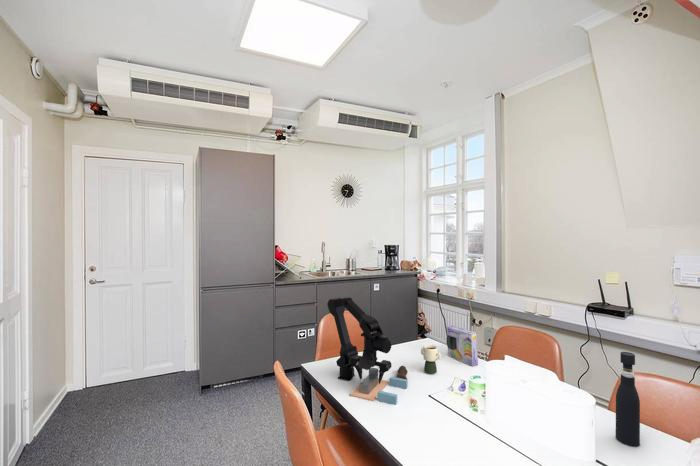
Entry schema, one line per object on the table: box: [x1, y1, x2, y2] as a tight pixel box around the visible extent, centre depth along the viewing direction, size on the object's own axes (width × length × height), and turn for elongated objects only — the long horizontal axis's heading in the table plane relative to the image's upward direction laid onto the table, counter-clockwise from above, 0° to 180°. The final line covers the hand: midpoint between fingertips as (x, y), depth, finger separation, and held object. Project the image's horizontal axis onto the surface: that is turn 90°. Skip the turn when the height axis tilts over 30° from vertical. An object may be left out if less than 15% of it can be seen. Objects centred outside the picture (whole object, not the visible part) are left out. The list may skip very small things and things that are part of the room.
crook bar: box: [359, 367, 379, 395], centre depth 152 cm, size 4×12×7 cm, turn 154°
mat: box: [349, 378, 390, 402], centre depth 152 cm, size 11×20×1 cm, turn 154°
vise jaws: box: [377, 376, 409, 406], centre depth 147 cm, size 8×18×4 cm, turn 154°
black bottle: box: [615, 351, 641, 448], centre depth 114 cm, size 6×6×30 cm
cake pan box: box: [445, 324, 479, 367], centre depth 187 cm, size 19×5×18 cm, turn 28°
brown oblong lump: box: [395, 365, 409, 380], centre depth 164 cm, size 6×5×15 cm
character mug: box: [420, 344, 441, 374], centre depth 170 cm, size 11×7×13 cm, turn 48°
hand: (370, 381), depth 152 cm, fingers open, 9 cm apart
